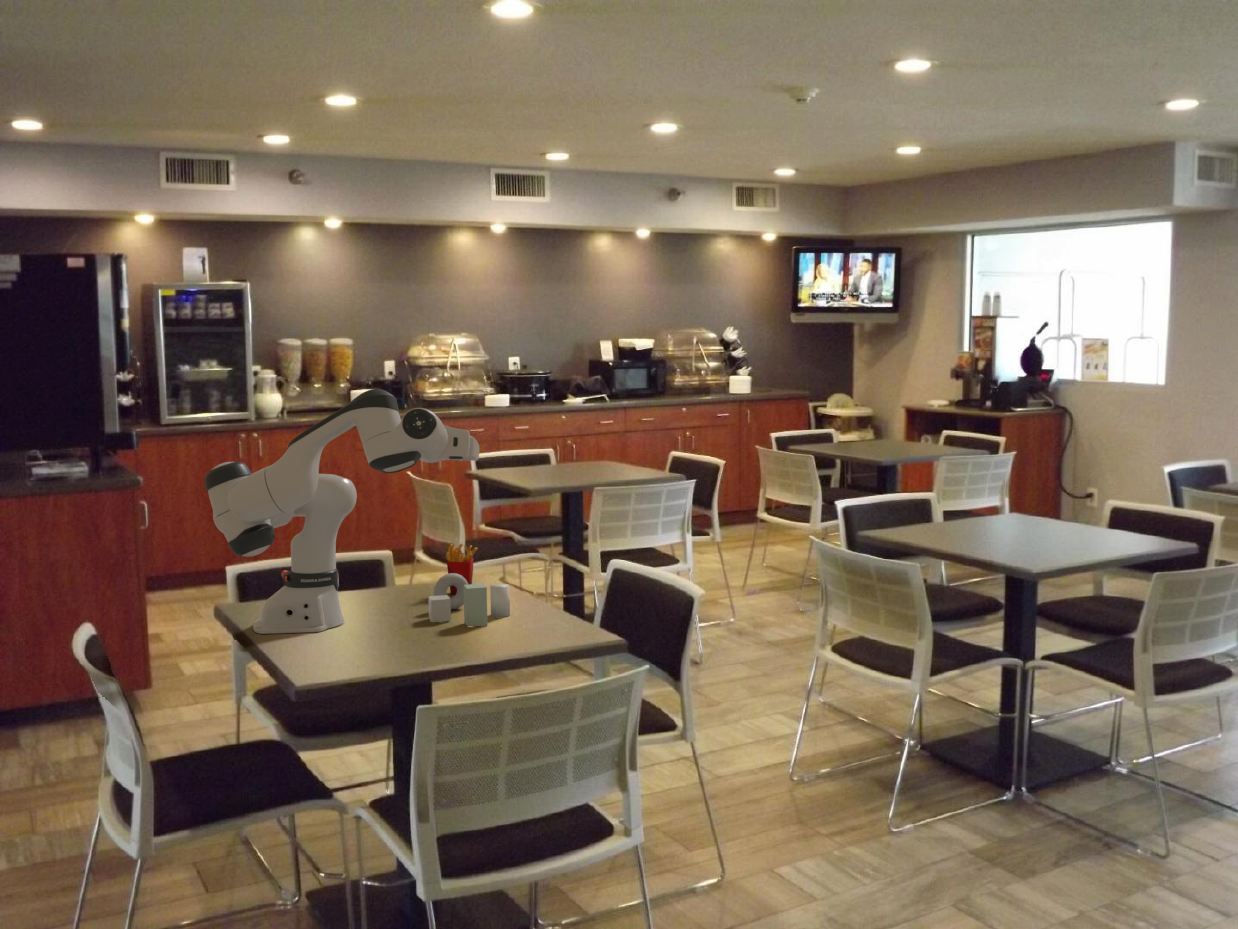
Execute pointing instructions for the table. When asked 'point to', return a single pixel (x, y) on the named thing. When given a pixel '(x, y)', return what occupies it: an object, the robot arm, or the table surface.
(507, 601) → the white canister
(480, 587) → the sage block
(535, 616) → the table surface
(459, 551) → the french fries
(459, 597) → the donut
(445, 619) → the grey cube
